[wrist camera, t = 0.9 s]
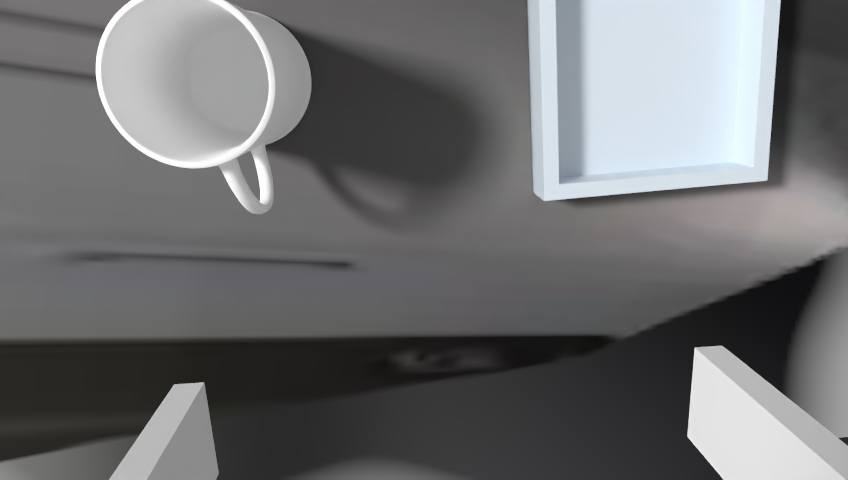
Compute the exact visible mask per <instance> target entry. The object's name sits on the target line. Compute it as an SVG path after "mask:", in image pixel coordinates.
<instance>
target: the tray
mask: <svg viewBox="0 0 848 480" xmlns="http://www.w3.org/2000/svg"><path fill="white" fill-rule="evenodd" d="M527 3H528V35H529V67H530V100H531V132H532V164H533V193H535V194H536V195H537V196H539V197H540V198H541V199H542V200H544V201H550V200H561V199H571V198H582V197H593V196H604V195H615V194H626V193H637V192H648V191H659V190H670V189H681V188H692V187H703V186H714V185H725V184H736V183H747V182H758V181H767V178H768V165H769V151H770V138H771V124H772V111H773V97H774V84H775V70H776V57H777V43H778V30H779V16H780V3H781V0H527Z"/></svg>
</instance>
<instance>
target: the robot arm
mask: <svg viewBox="0 0 848 480" xmlns="http://www.w3.org/2000/svg"><path fill="white" fill-rule="evenodd" d="M687 437H688V438H689V439H690V440H691V441H692V443H693V444H694V445H695V446H696V447H697V448H698V450H699V451H700V452H701V453H702V454H703V456H704V457H705V458H706V459H707V460H708V461H709V463H710V464H711V465H712V466H713V468H714V469H715V470H716V471H717V472H718V473H719V475H721V477H722V478H723V479H724V480H848V437H844V438H837V437H836V436H835V435H834V434H832V433H831V432H830V431H828V430H827V429H826V428H825V427H824V426H822V425H821V424H820V423H819V422H817V421H816V420H815V419H813V418H812V417H811V416H810V415H808V414H807V413H806V412H805V411H803V410H802V409H801V408H800V407H798V406H797V405H796V404H795V403H793V402H792V401H791V400H789V399H788V398H787V397H786V396H785V395H783V394H782V393H781V392H780V391H778V390H777V389H776V388H774V387H773V386H772V385H771V384H770V383H768V382H767V381H766V380H765V379H763V378H762V377H761V376H760V375H758V374H757V373H756V372H754V371H753V370H752V369H751V368H749V367H748V366H747V365H746V364H744V363H743V362H742V361H741V360H739V359H738V358H737V357H736V356H734V355H733V354H732V353H731V352H729V351H728V350H727V349H725V348H724V347H723V346H711V347H698V348H695V351H694V364H693V375H692V387H691V399H690V412H689V423H688V435H687ZM217 476H218V467H217V461H216V454H215V448H214V442H213V435H212V429H211V423H210V416H209V410H208V404H207V398H206V391H205V385H204V382H203V383H189V384H175V385H174V386H173V387H172V389H171V390H170V391H169V393H168V394H167V396H166V397H165V399H164V400H163V402H162V403H161V405H160V406H159V408H158V409H157V410H156V412H155V413H154V415H153V416H152V418H151V419H150V421H149V422H148V424H147V425H146V427H145V428H144V430H143V431H142V432H141V434H140V435H139V437H138V438H137V440H136V441H135V443H134V444H133V446H132V447H131V449H130V450H129V452H128V453H127V454H126V456H125V457H124V459H123V460H122V462H121V463H120V465H119V466H118V468H117V469H116V471H115V472H114V473H113V475H112V476H111V478H110V479H109V480H216V478H217Z"/></svg>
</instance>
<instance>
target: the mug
mask: <svg viewBox="0 0 848 480" xmlns="http://www.w3.org/2000/svg"><path fill="white" fill-rule="evenodd" d="M96 79H97V86H98V90H99V94H100V97H101V100H102V103H103V106H104V108H105V110H106V112H107V114H108V116H109V118H110V119H111V121H112V122H113V124H114V125H115V127H116V128H117V129H118V131H119V132H120V133H121V134H122V135H123V136H124V137H125V138H126V139H127V140H128V141H129V142H130V143H131V144H132V145H133V146H135V147H136V148H137V149H139V150H140V151H141V152H143V153H144V154H146V155H148V156H150V157H152V158H154V159H156V160H158V161H160V162H163V163H166V164H169V165H173V166H177V167H183V168H206V167H212V166H217V165H218V166H219V168H220V169H221V171H222V172H223V174H224V176H225V178H226V180H227V182H228V184H229V186H230V187H231V189H232V191H233V192H234V194H235V196H236V197H237V199H238V200H239V201H240V203H241V204H242V205H243V206H244V207H245V208H246V209H247V210H248V211H250V212H251V213H254V214H262V213H265V212H267V211H268V210H269V209H270V208H271V206H272V204H273V197H274V191H273V181H272V174H271V169H270V165H269V161H268V157H267V153H266V148H265V145H267V144H270V143H273V142H275V141H277V140H279V139H281V138H282V137H284V136H286V135H287V134H288V133H289V132H291V131H292V130H293V129H294V128H295V127H296V125H297V124H298V123H299V122H300V120H301V119H302V117H303V115H304V113H305V111H306V109H307V106H308V103H309V100H310V95H311V72H310V67H309V63H308V60H307V58H306V55H305V53H304V51H303V49H302V47H301V46H300V44H299V42H298V41H297V40H296V38H295V37H294V36H293V35H292V34H291V33H290V32H289V31H288V30H287V29H286V28H285V27H284V26H283V25H281V24H280V23H278V22H277V21H275V20H274V19H272V18H270V17H268V16H266V15H263V14H260V13H257V12H253V11H247V10H245V9H242V8H240V7H238V6H236V5H234V4H232V3H230V2H228V1H226V0H131V1H130V2H128V3H127V4H126V5H125V6H123V7H122V8H121V9H120V10H119V11H118V12H117V13H116V14H115V16H114V17H113V18H112V19H111V21H110V22H109V24H108V25H107V27H106V29H105V31H104V33H103V35H102V38H101V41H100V44H99V47H98V52H97V58H96ZM248 151H251V153H252V155H253V158H254V161H255V164H256V168H257V173H258V178H259V184H260V202H259V201H258V200H257V198H256V197H255V196H254V194H253V193H252V191H251V190H250V188H249V186H248V185H247V183H246V181H245V179H244V177H243V175H242V172H241V170H240V167H239V164H238V160H237V157H239V156H241V155H242V154H244V153H246V152H248Z"/></svg>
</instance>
